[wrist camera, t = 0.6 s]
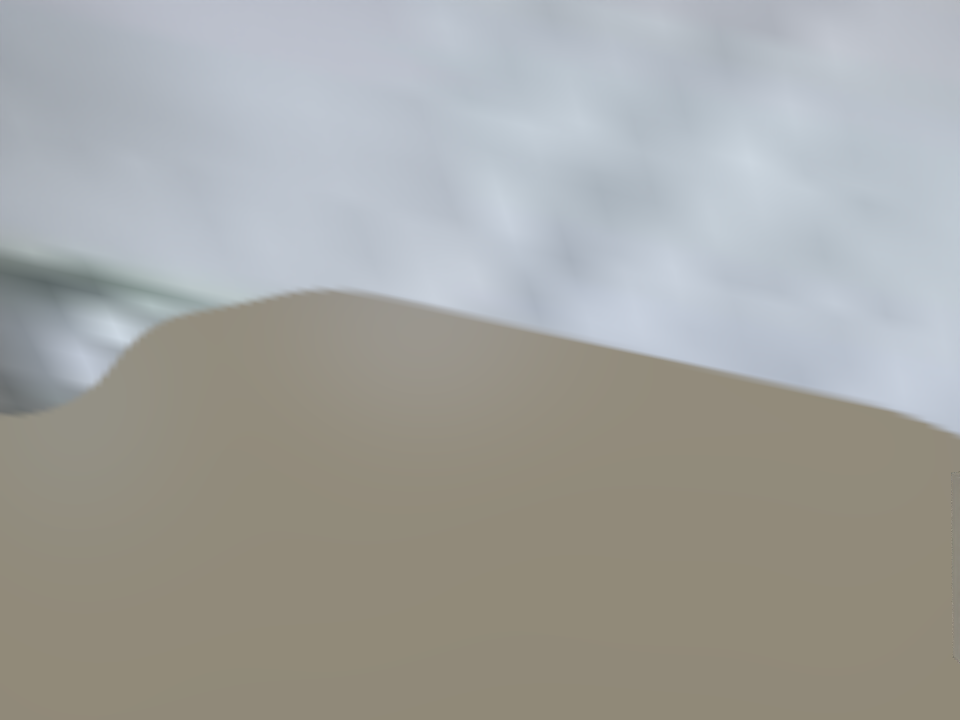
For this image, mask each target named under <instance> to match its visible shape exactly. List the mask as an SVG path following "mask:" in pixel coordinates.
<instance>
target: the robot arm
mask: <svg viewBox="0 0 960 720" xmlns="http://www.w3.org/2000/svg"><path fill="white" fill-rule="evenodd" d="M951 479H952V480H951V481H952V587H953V589H952V591H953V592H952V594H953V658H954V659H955V660H957V661H958V662H959V663H960V471H959V472H954V473H951Z"/></svg>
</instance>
